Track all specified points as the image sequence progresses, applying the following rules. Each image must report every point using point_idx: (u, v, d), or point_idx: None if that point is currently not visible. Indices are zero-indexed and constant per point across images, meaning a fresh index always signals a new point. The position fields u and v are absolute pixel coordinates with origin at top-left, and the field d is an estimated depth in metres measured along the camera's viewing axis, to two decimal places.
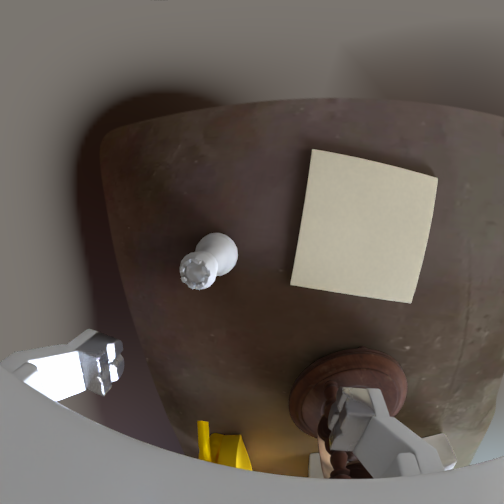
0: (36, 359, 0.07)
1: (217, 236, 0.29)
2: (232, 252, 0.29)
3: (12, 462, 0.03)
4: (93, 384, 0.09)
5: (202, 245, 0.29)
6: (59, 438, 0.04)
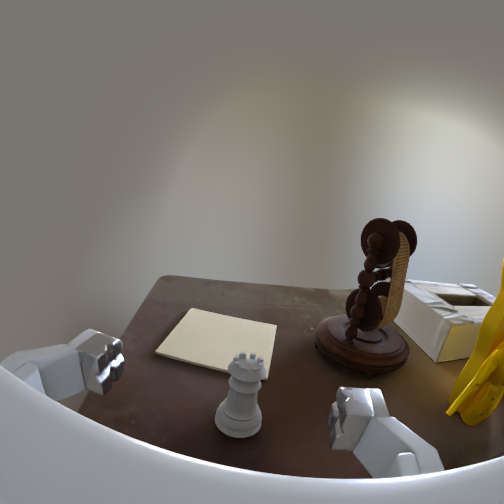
0: (36, 359, 0.07)
1: (218, 407, 0.25)
2: None
3: (12, 462, 0.03)
4: (93, 384, 0.09)
5: (225, 410, 0.23)
6: (59, 438, 0.04)
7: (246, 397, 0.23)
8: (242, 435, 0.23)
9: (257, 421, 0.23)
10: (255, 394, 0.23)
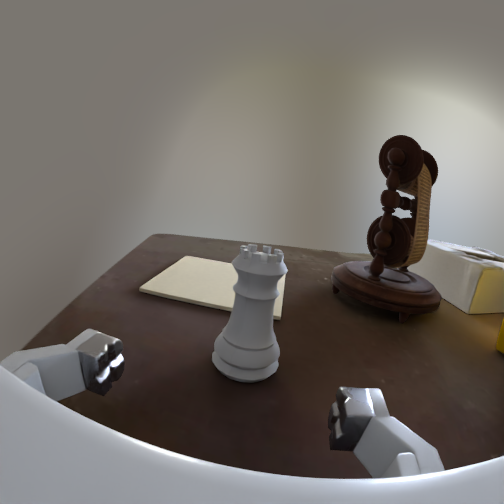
0: (36, 359, 0.07)
1: (217, 338, 0.19)
2: None
3: (12, 462, 0.03)
4: (93, 384, 0.09)
5: (228, 336, 0.17)
6: (59, 438, 0.04)
7: (259, 307, 0.17)
8: (253, 376, 0.17)
9: (273, 353, 0.18)
10: (271, 306, 0.17)
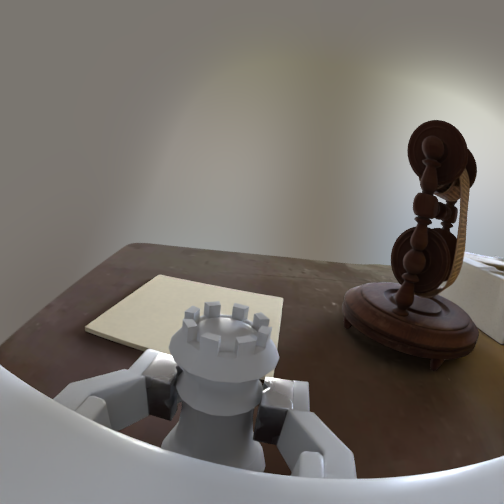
0: (100, 391, 0.07)
1: (165, 438, 0.10)
2: None
3: (12, 462, 0.03)
4: (160, 409, 0.08)
5: (176, 450, 0.09)
6: (59, 438, 0.04)
7: (224, 424, 0.08)
8: None
9: None
10: (248, 416, 0.08)
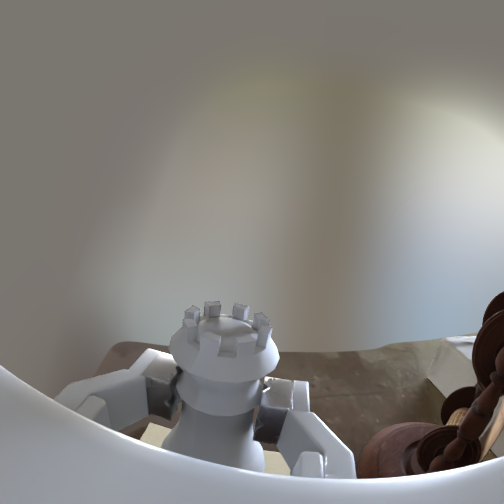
0: (100, 391, 0.07)
1: (165, 438, 0.10)
2: None
3: (12, 462, 0.03)
4: (160, 409, 0.08)
5: (176, 450, 0.09)
6: (59, 438, 0.04)
7: (224, 424, 0.08)
8: None
9: None
10: (248, 416, 0.08)
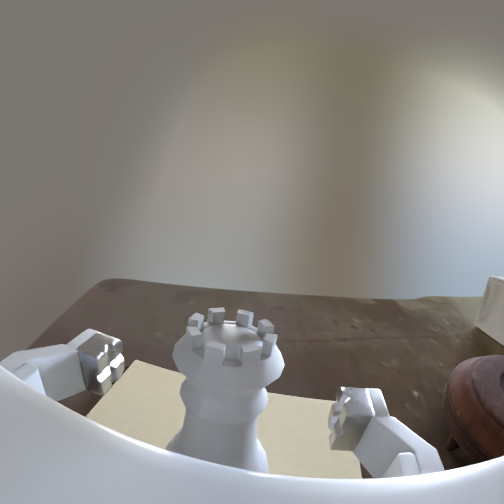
0: (36, 359, 0.07)
1: (168, 444, 0.10)
2: None
3: (12, 463, 0.03)
4: (93, 384, 0.09)
5: None
6: (59, 438, 0.04)
7: (228, 431, 0.08)
8: None
9: None
10: (252, 423, 0.08)
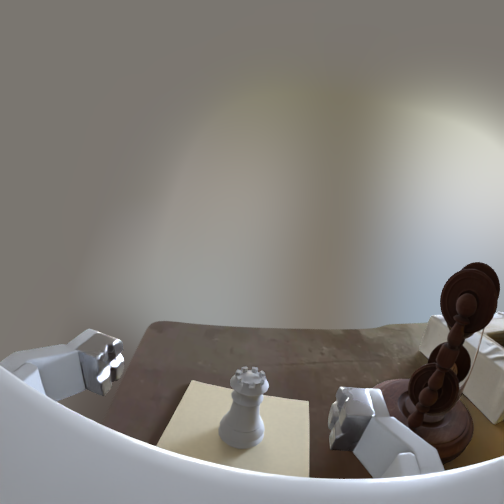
0: (36, 359, 0.07)
1: None
2: None
3: (12, 462, 0.03)
4: (93, 384, 0.09)
5: (229, 422, 0.23)
6: (59, 438, 0.04)
7: (249, 410, 0.23)
8: (245, 446, 0.23)
9: (259, 432, 0.23)
10: (257, 407, 0.23)
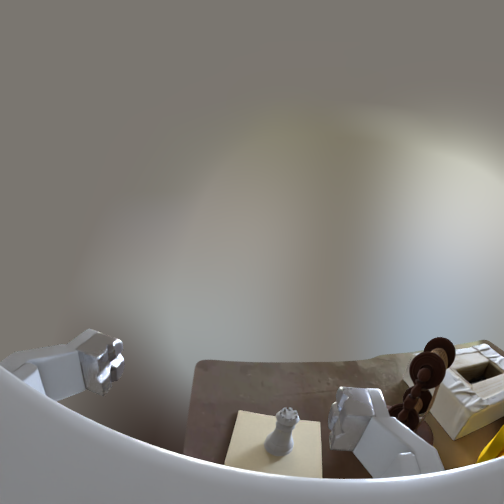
0: (36, 359, 0.07)
1: (266, 438, 0.37)
2: None
3: (12, 462, 0.03)
4: (93, 384, 0.09)
5: (272, 440, 0.36)
6: (59, 438, 0.04)
7: (287, 433, 0.35)
8: (282, 454, 0.35)
9: (291, 445, 0.36)
10: (291, 430, 0.36)
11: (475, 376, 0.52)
